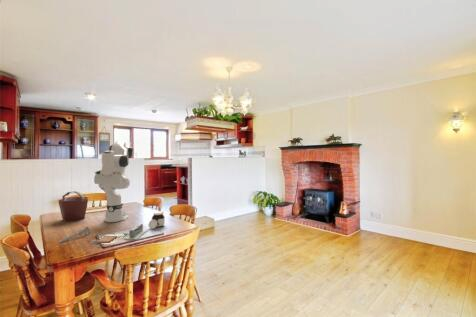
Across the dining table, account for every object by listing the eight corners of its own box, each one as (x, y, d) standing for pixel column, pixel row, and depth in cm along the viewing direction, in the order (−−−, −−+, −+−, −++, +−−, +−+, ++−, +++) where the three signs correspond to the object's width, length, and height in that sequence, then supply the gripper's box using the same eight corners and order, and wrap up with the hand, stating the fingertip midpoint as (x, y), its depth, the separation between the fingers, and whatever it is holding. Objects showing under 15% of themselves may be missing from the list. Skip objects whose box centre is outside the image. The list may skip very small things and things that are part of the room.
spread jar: (165, 224, 201) (165, 211, 200) (163, 228, 189) (163, 214, 189) (150, 225, 198) (150, 211, 198) (147, 229, 187) (147, 215, 187)
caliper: (88, 234, 177) (88, 225, 177) (89, 234, 176) (89, 226, 176) (57, 243, 158) (57, 234, 158) (58, 243, 158) (58, 234, 158)
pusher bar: (138, 230, 182) (138, 223, 182) (142, 230, 182) (142, 223, 182) (129, 237, 166) (129, 230, 166) (133, 237, 166) (133, 230, 166)
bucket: (55, 219, 217) (55, 191, 216) (82, 214, 235) (82, 189, 234) (66, 223, 203) (66, 194, 202) (94, 218, 221) (93, 191, 220)
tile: (105, 235, 167) (96, 241, 157) (116, 235, 167) (108, 241, 157) (105, 238, 167) (96, 243, 157) (116, 238, 167) (108, 243, 157)
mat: (107, 233, 177) (107, 233, 177) (128, 233, 177) (128, 233, 177) (88, 245, 155) (88, 244, 155) (113, 245, 155) (113, 244, 155)
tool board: (136, 230, 184) (136, 229, 184) (147, 230, 184) (147, 229, 184) (123, 240, 164) (123, 238, 164) (136, 240, 164) (136, 238, 164)
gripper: (123, 171, 186) (124, 189, 186) (97, 171, 186) (97, 188, 186) (119, 172, 180) (120, 190, 180) (92, 172, 179) (93, 190, 180)
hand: (108, 189), depth 183 cm, fingers open, 8 cm apart
